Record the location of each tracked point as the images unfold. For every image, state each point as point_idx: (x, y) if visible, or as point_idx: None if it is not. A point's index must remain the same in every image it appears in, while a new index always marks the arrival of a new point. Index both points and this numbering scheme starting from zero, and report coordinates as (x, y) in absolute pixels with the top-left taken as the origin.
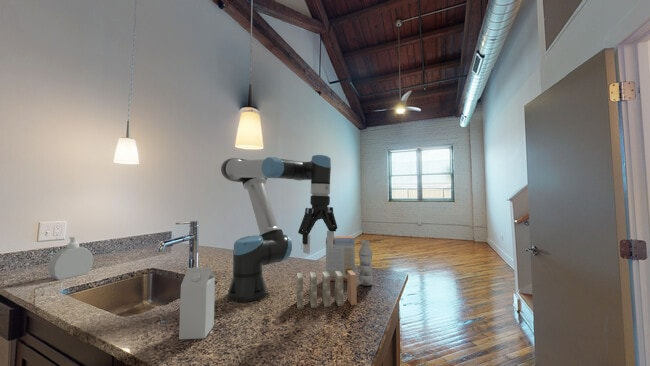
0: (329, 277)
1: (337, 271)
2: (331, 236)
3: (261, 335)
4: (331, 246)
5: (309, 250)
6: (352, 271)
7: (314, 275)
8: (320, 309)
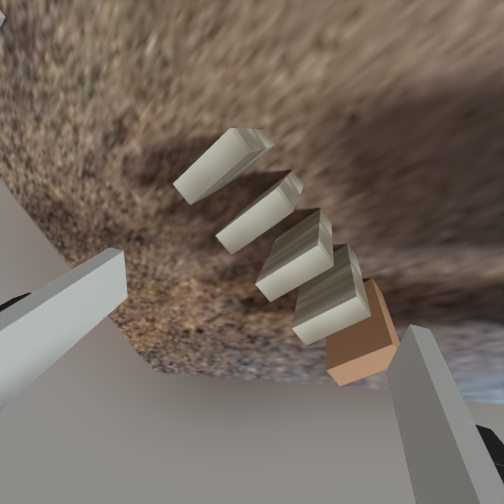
0: (269, 297)
1: (355, 308)
2: (417, 485)
3: (77, 178)
4: (388, 379)
5: (109, 309)
6: (386, 366)
7: (241, 238)
8: None
